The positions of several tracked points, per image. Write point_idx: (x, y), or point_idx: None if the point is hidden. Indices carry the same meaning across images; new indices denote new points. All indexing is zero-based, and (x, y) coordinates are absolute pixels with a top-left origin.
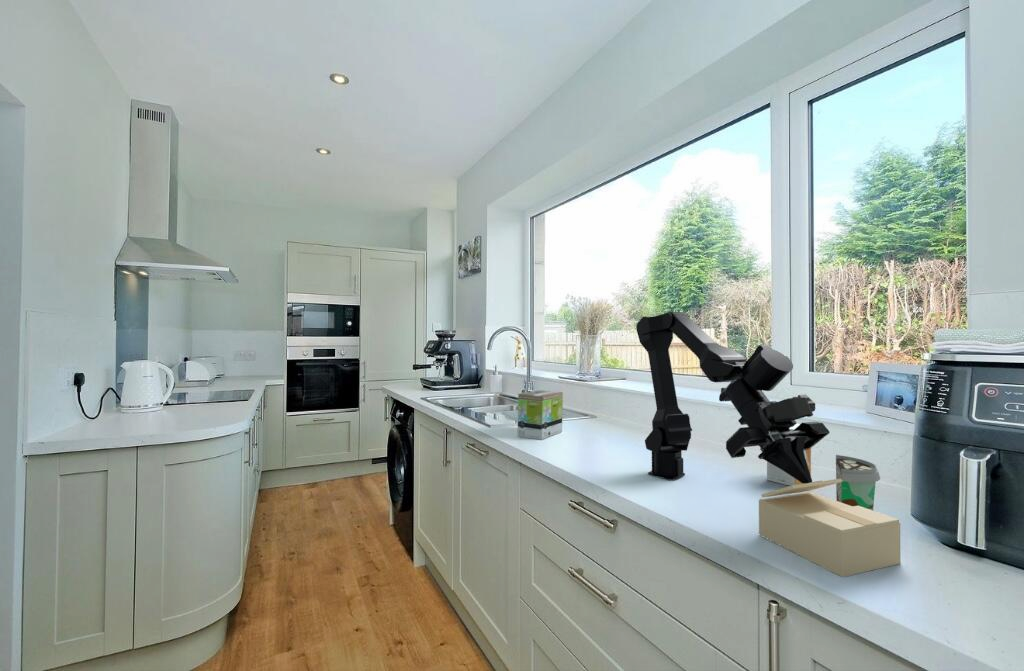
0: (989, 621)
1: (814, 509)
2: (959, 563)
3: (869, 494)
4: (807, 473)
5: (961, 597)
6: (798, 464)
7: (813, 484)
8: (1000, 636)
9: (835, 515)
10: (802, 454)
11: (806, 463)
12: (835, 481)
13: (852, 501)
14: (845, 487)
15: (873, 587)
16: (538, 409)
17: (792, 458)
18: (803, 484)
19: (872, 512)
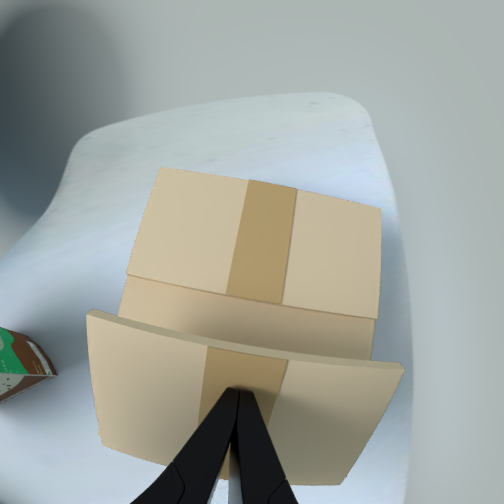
0: (274, 108)
1: (269, 348)
2: (94, 174)
3: None
4: (230, 414)
5: (232, 135)
6: (260, 464)
7: (281, 352)
8: (301, 100)
9: (294, 267)
10: (159, 501)
11: (182, 452)
12: (131, 321)
13: (16, 351)
14: (1, 362)
15: None
16: None
17: (286, 502)
18: (343, 363)
19: (157, 223)
